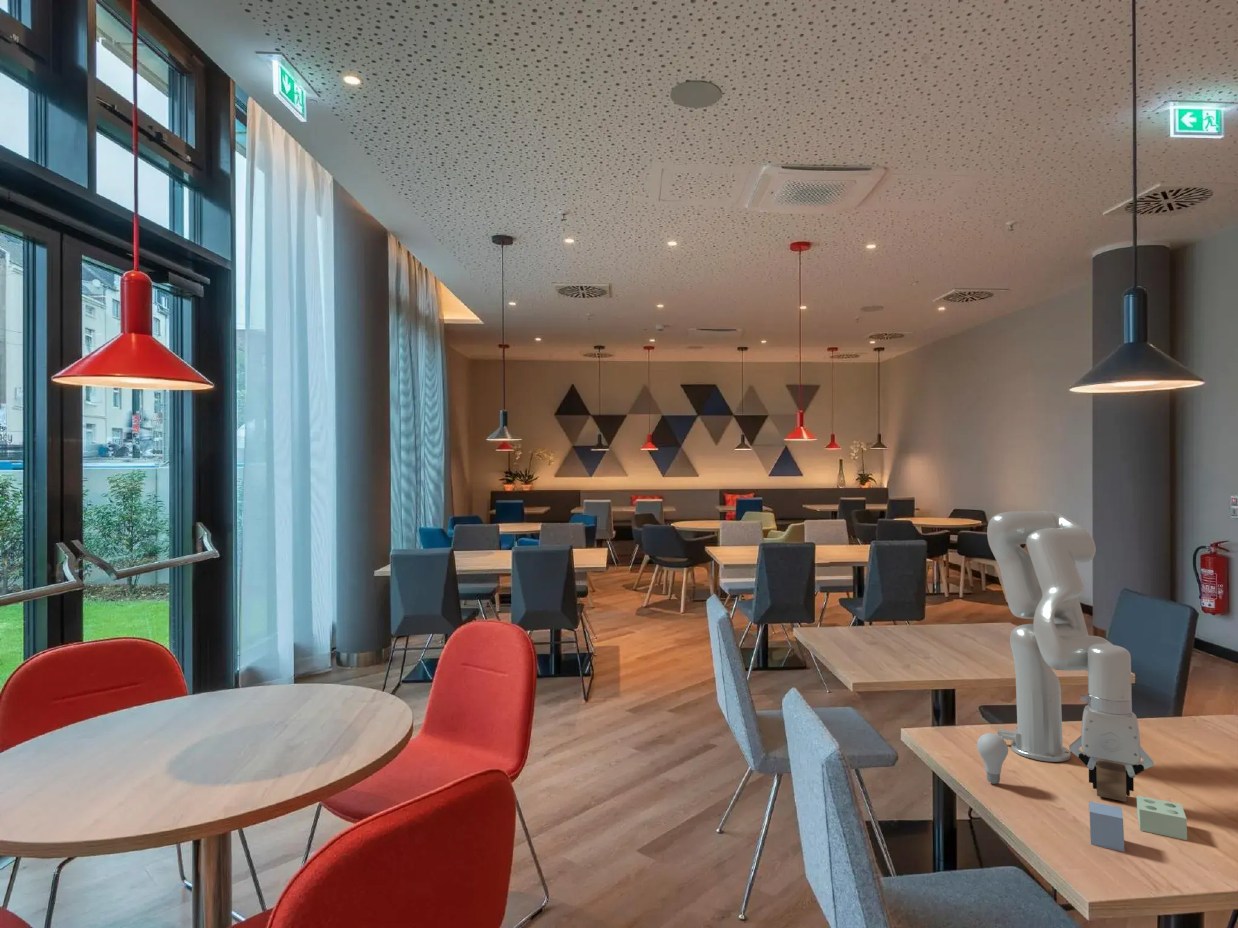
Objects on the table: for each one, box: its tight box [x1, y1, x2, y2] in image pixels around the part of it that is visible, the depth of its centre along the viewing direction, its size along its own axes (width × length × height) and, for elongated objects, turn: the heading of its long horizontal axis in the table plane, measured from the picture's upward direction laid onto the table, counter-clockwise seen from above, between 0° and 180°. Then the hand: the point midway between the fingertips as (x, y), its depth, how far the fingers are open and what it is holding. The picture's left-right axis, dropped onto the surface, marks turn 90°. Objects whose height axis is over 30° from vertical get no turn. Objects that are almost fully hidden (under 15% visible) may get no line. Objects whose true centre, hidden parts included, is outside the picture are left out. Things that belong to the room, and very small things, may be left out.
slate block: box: [1088, 800, 1125, 853], centre depth 127 cm, size 5×5×6 cm
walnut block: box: [1095, 759, 1127, 803], centre depth 145 cm, size 5×5×6 cm
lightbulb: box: [976, 732, 1009, 785], centre depth 152 cm, size 6×6×11 cm
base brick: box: [1136, 795, 1188, 841], centre depth 132 cm, size 7×7×4 cm
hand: (1110, 788), depth 145 cm, fingers closed on walnut block, 5 cm apart
